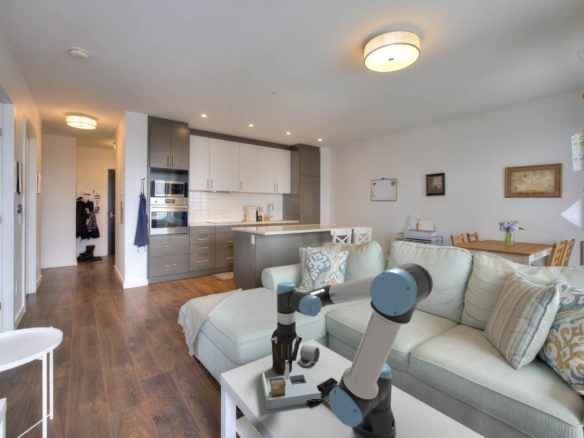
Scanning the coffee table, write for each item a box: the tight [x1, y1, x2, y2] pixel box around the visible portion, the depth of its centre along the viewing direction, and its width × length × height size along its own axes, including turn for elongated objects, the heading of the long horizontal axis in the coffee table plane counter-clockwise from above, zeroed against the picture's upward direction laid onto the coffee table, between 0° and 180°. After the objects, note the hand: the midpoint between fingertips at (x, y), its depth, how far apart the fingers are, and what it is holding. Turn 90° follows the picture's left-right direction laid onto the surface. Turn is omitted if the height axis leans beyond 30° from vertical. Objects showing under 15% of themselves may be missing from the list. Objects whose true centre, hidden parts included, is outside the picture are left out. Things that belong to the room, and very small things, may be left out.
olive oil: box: [271, 328, 294, 375], centre depth 137 cm, size 11×11×25 cm
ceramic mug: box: [299, 344, 321, 368], centre depth 143 cm, size 11×8×8 cm
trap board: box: [261, 371, 322, 411], centre depth 120 cm, size 16×22×6 cm
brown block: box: [271, 380, 285, 398], centre depth 115 cm, size 5×5×4 cm
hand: (286, 377), depth 116 cm, fingers closed
